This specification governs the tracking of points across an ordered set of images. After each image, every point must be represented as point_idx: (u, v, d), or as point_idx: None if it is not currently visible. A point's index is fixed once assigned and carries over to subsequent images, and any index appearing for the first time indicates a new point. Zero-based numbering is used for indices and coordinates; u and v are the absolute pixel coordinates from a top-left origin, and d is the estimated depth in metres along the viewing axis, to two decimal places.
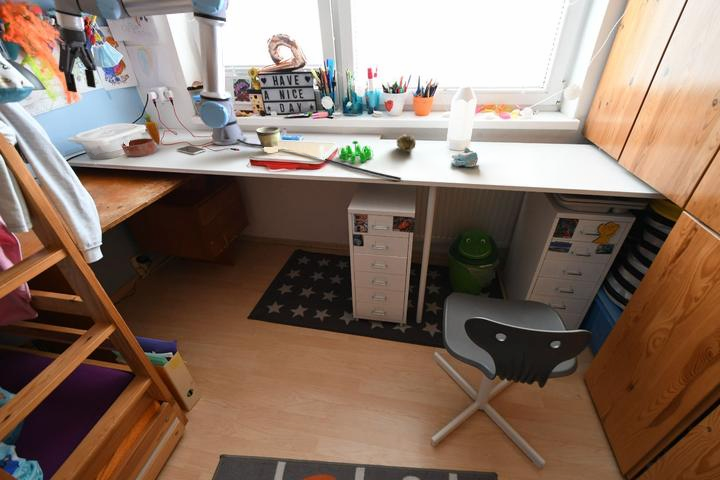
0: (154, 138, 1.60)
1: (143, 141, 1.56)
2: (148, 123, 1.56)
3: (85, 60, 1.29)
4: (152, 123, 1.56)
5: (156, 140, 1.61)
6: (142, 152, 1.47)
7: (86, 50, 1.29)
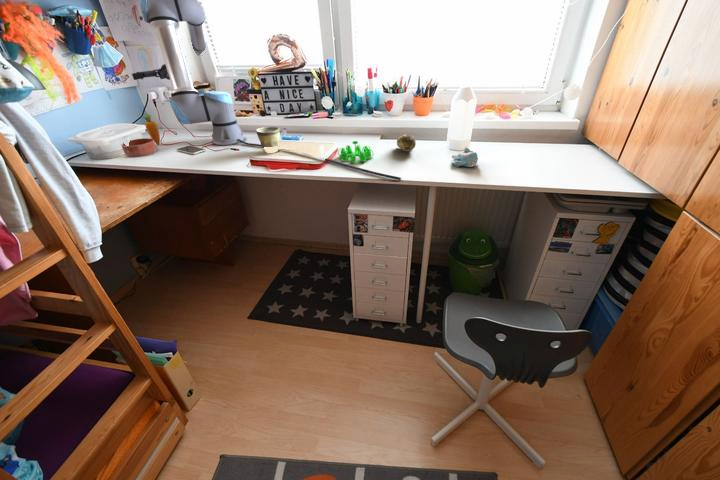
0: (154, 138, 1.60)
1: (143, 141, 1.56)
2: (148, 123, 1.56)
3: None
4: (152, 123, 1.56)
5: (156, 140, 1.61)
6: (142, 152, 1.47)
7: None
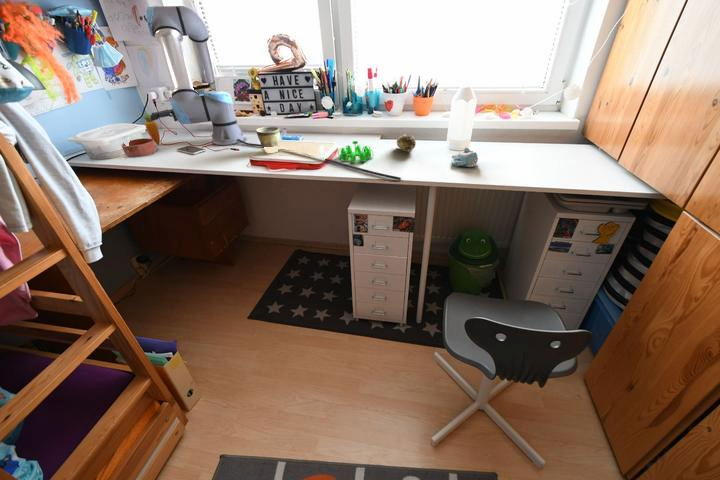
0: (154, 138, 1.60)
1: (143, 141, 1.56)
2: (148, 123, 1.56)
3: None
4: (152, 123, 1.56)
5: (156, 140, 1.61)
6: (142, 152, 1.47)
7: None
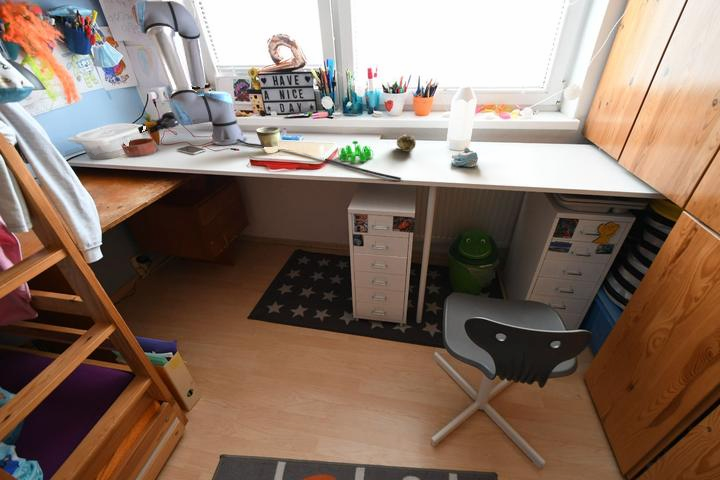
0: (154, 138, 1.60)
1: (143, 141, 1.56)
2: (148, 123, 1.56)
3: None
4: (152, 123, 1.56)
5: (156, 140, 1.61)
6: (142, 152, 1.47)
7: None
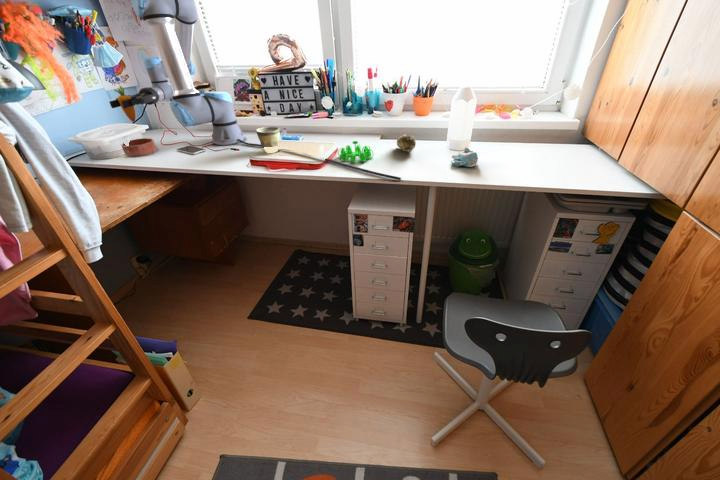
0: (129, 114, 1.44)
1: (143, 141, 1.56)
2: (121, 97, 1.40)
3: None
4: (126, 97, 1.41)
5: (131, 117, 1.45)
6: (142, 152, 1.47)
7: None
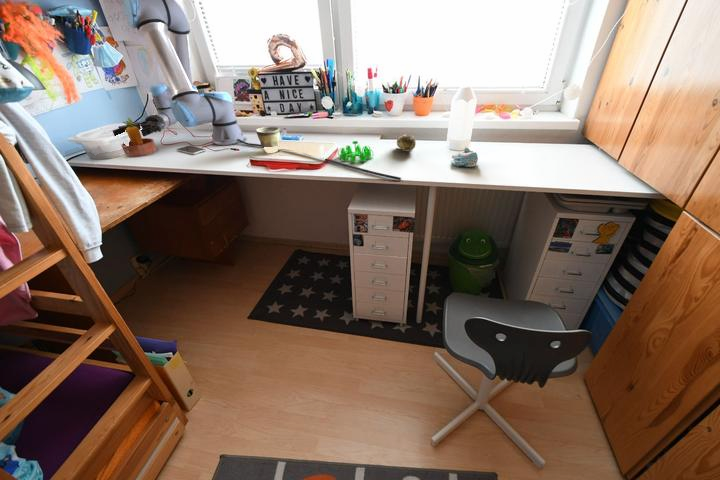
0: (136, 144, 1.49)
1: (143, 141, 1.56)
2: (129, 128, 1.45)
3: (151, 126, 1.52)
4: (134, 128, 1.46)
5: None
6: (142, 152, 1.47)
7: None
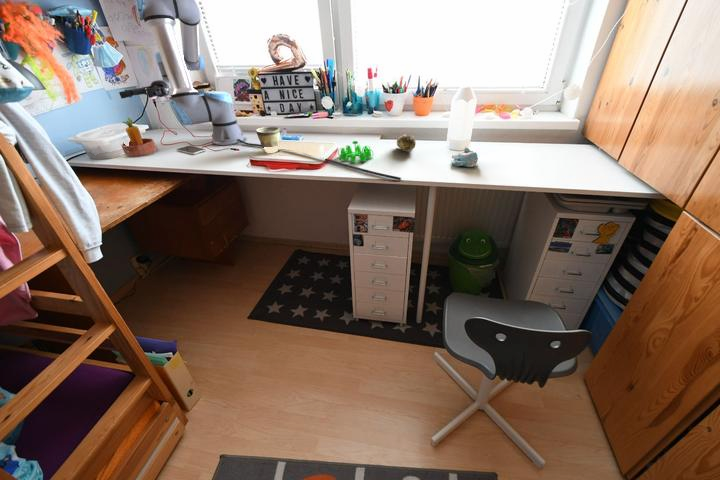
0: (136, 144, 1.49)
1: (143, 141, 1.56)
2: (129, 128, 1.45)
3: None
4: (134, 128, 1.46)
5: None
6: (142, 152, 1.47)
7: None
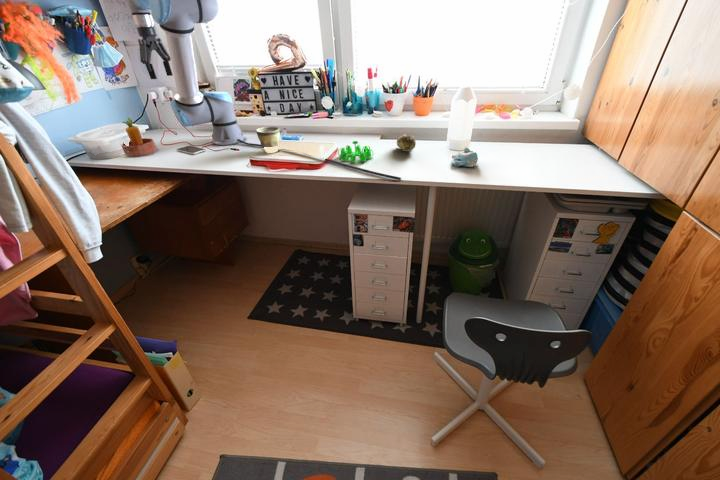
0: (136, 144, 1.49)
1: (143, 141, 1.56)
2: (129, 128, 1.45)
3: (160, 52, 1.59)
4: (134, 128, 1.46)
5: None
6: (142, 152, 1.47)
7: (160, 44, 1.58)
